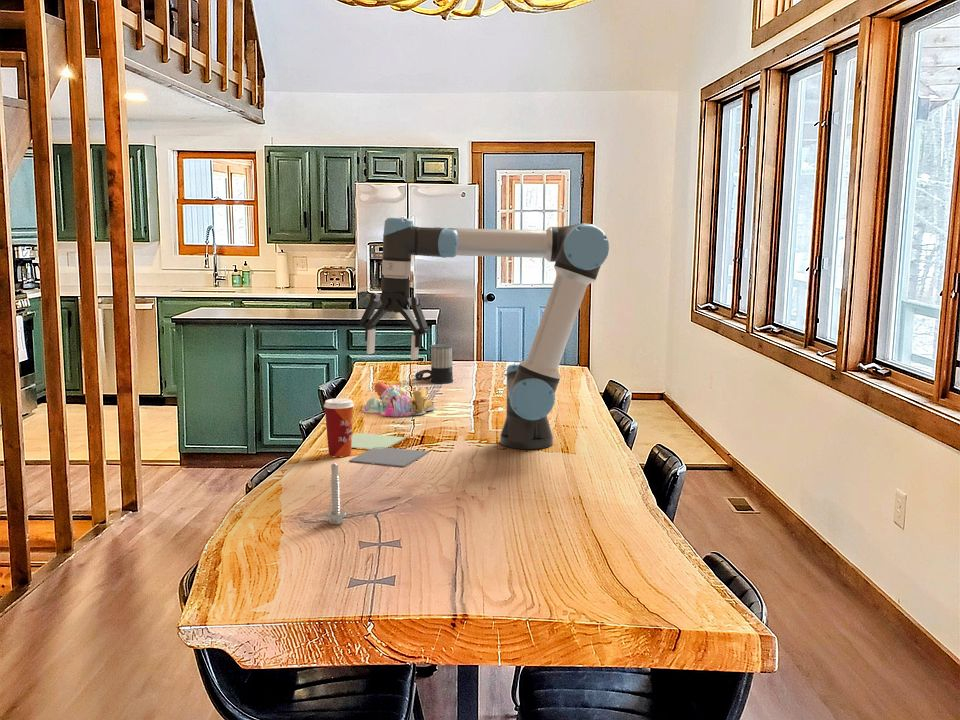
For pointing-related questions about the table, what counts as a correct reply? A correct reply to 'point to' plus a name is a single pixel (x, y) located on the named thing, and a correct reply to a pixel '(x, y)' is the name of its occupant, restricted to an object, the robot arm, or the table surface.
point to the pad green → (374, 441)
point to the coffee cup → (339, 426)
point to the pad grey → (390, 456)
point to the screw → (335, 499)
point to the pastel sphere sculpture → (398, 401)
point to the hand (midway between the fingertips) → (392, 356)
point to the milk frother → (439, 364)
